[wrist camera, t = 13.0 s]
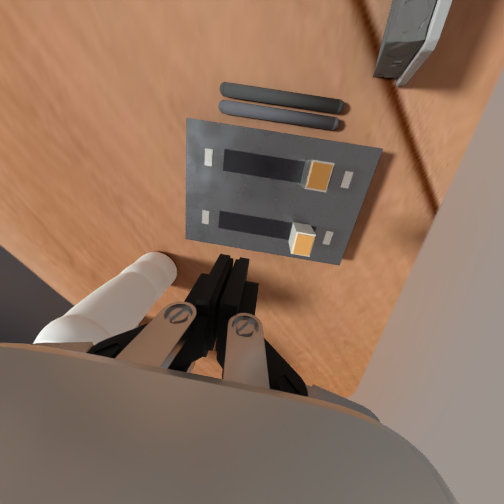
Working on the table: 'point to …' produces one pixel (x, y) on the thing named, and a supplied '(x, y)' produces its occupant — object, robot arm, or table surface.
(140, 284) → the water bottle
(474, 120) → the table surface
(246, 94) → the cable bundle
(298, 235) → the lever
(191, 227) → the slider control panel
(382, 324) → the table surface
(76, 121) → the table surface
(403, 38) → the electrical switch
